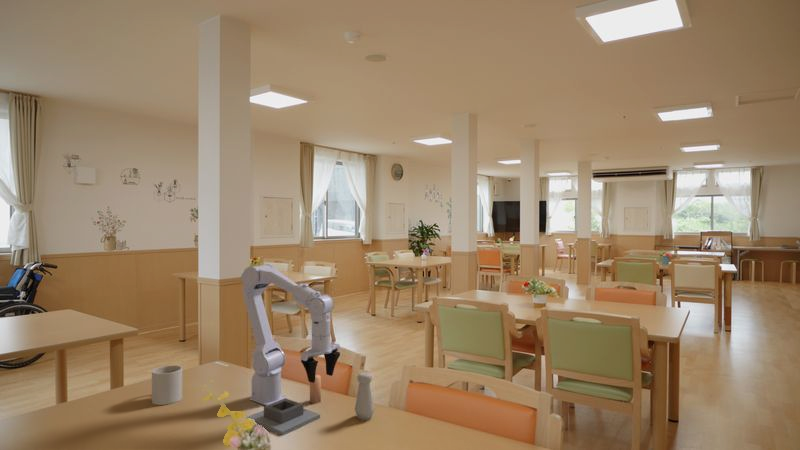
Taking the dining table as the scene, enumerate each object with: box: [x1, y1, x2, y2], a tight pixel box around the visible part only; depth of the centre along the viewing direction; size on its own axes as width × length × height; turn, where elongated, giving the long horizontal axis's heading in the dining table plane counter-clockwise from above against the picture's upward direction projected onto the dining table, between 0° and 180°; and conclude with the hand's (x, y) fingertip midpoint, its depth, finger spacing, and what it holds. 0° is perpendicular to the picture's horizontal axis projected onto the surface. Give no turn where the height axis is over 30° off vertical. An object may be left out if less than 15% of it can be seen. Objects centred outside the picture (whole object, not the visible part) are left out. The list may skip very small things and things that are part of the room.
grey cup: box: [151, 364, 183, 406], centre depth 150 cm, size 11×10×10 cm
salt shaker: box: [354, 371, 375, 421], centre depth 135 cm, size 6×6×13 cm
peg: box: [309, 374, 322, 404], centre depth 147 cm, size 4×4×8 cm
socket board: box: [246, 398, 321, 436], centre depth 134 cm, size 16×14×4 cm
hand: (320, 378), depth 141 cm, fingers open, 7 cm apart
